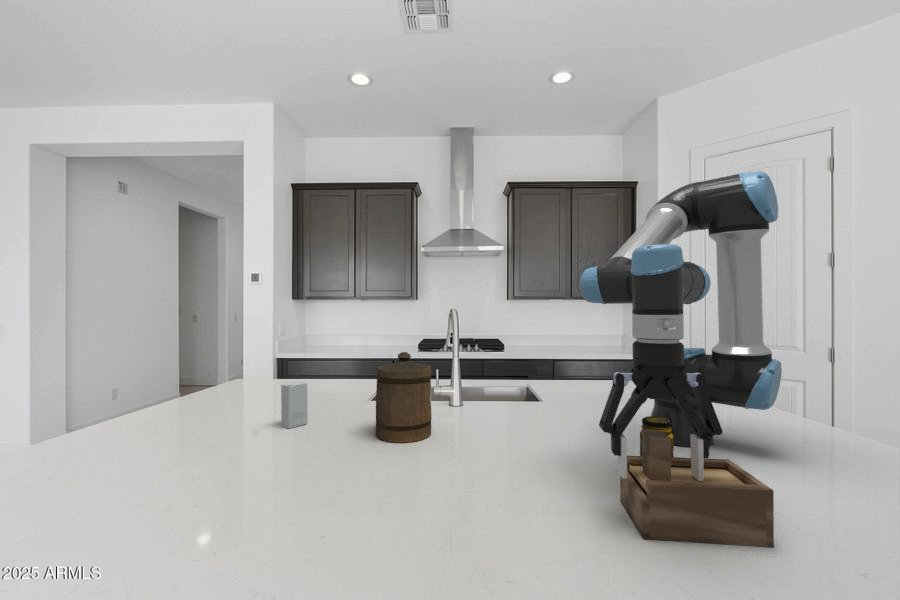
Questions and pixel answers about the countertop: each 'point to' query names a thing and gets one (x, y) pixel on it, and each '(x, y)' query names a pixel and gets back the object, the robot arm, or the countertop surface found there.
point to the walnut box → (701, 507)
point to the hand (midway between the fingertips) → (659, 476)
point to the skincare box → (294, 404)
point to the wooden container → (403, 401)
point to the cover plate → (687, 475)
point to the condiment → (656, 428)
